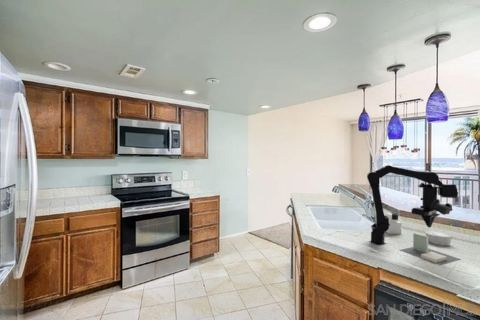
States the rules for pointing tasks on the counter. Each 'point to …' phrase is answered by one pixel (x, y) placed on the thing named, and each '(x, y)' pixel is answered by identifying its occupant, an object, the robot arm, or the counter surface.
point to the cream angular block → (433, 257)
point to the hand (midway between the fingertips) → (429, 227)
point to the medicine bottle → (394, 224)
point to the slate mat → (418, 253)
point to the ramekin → (438, 237)
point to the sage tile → (420, 242)
